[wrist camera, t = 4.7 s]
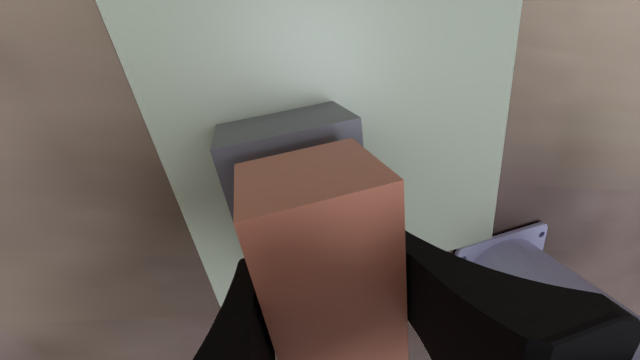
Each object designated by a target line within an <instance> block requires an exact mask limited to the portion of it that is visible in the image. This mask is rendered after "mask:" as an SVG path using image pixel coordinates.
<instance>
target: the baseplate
mask: <svg viewBox="0 0 640 360" xmlns="http://www.w3.org/2000/svg"><path fill="white" fill-rule="evenodd" d="M95 1H96V3H97V5H98V8H99V10H100V13H101V15H102V18H103V20H104V23H105V25H106V28H107V30H108V32H109V35H110V37H111V40H112V42H113V45H114V47H115V50H116V52H117V55H118V57H119V59H120V62H121V64H122V67H123V69H124V72H125V74H126V77H127V79H128V82H129V84H130V86H131V89H132V91H133V94H134V96H135V99H136V101H137V104H138V106H139V109H140V111H141V113H142V116H143V118H144V121H145V123H146V126H147V128H148V131H149V133H150V136H151V138H152V140H153V143H154V145H155V148H156V150H157V153H158V155H159V158H160V160H161V163H162V165H163V167H164V170H165V172H166V175H167V177H168V180H169V182H170V185H171V187H172V190H173V192H174V194H175V197H176V199H177V202H178V204H179V207H180V209H181V212H182V214H183V217H184V219H185V221H186V224H187V226H188V229H189V231H190V234H191V236H192V239H193V241H194V244H195V246H196V248H197V251H198V253H199V256H200V258H201V261H202V263H203V266H204V268H205V271H206V273H207V275H208V278H209V280H210V283H211V285H212V288H213V290H214V293H215V295H216V298H217V300H218V302H219V305H220V307H221V306H222V304H223V302H224V299H225V297H226V295H227V292H228V290H229V288H230V285H231V282H232V280H233V277H234V274H235V271H236V268H237V264H238V262H239V260H240V259H242V258H244V255H243V252H242V249H241V245H240V242H239V239H238V236H237V233H236V230H235V227H234V224H233V220H232V217H231V214H230V211H229V208H228V205H227V202H226V199H225V196H224V193H223V190H222V186H221V183H220V180H219V177H218V174H217V171H216V168H215V165H214V162H213V159H212V156H211V153H210V147H211V143H212V139H213V134H214V130H215V126H216V125H217V124H222V123H227V122H232V121H237V120H242V119H247V118H251V117H256V116H261V115H266V114H271V113H276V112H281V111H286V110H291V109H296V108H301V107H306V106H311V105H316V104H321V103H326V102H330V101H334V102H336V103H337V104H339V105H341V106H342V107H344V108H346V109H347V110H349V111H351V112H353V113H354V114H356V115H358V116H359V117H361V122H362V134H363V145H364V148H365V149H366V150H368V151H369V152H370V153H371V154H372V155H374V156H375V157H376V158H377V159H379V160H380V161H381V162H382V163H384V164H385V165H386V166H387V167H389V168H390V169H391V170H392V171H393V172H395V173H396V174H397V175H398V176H400V177H401V178H402V179H403V180H404V205H405V230H406V231H407V232H409V233H411V234H413V235H415V236H417V237H418V238H420V239H422V240H424V241H426V242H428V243H430V244H432V245H434V246H436V247H438V248H440V249H443V250H445V251H447V252H448V251H452V250H455V249H458V248H461V247H465V246H468V245H471V244H475V243H478V242H481V241H484V240H488V239H491V238H492V233H493V225H494V217H495V209H496V202H497V194H498V186H499V179H500V171H501V163H502V155H503V148H504V140H505V132H506V124H507V117H508V109H509V101H510V93H511V86H512V78H513V70H514V62H515V55H516V47H517V39H518V32H519V24H520V16H521V8H522V1H523V0H95Z"/></svg>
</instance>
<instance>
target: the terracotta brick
mask: <svg viewBox="0 0 640 360" xmlns="http://www.w3.org/2000/svg"><path fill="white" fill-rule="evenodd" d="M233 224H234V227H235V230H236V233H237V236H238V239H239V242H240V245H241V249H242V252H243V255H244V258H245V261H246V264H247V267H248V270H249V273H250V276H251V279H252V282H253V286H254V289H255V292H256V295H257V298H258V301H259V304H260V307H261V310H262V313H263V316H264V319H265V323H266V326H267V329H268V332H269V335H270V338H271V341H272V344H273V347H274V350H275V353H276V356H277V360H408V322H407V283H406V244H405V205H404V180H403V179H402V178H401V177H400V176H398V175H397V174H396V173H395V172H393V171H392V170H391V169H390V168H389V167H387V166H386V165H385V164H384V163H382V162H381V161H380V160H379V159H377V158H376V157H375V156H374V155H372V154H371V153H370V152H369V151H368V150H366V149H365V148H364V147H363V146H361V145H360V144H359V143H358V142H356V141H355V140H354V139H353V138H349V139H344V140H340V141H335V142H331V143H326V144H322V145H317V146H313V147H309V148H304V149H300V150H295V151H291V152H286V153H282V154H277V155H273V156H268V157H264V158H259V159H255V160H251V161H246V162H242V163H237V164H234V214H233Z"/></svg>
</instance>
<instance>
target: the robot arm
mask: <svg viewBox="0 0 640 360" xmlns="http://www.w3.org/2000/svg"><path fill="white" fill-rule="evenodd" d="M547 229H548V225H547V224H546V223H544V222H538V223H535V224H532V225H528V226H525V227H522V228H519V229H515V230H512V231H509V232H505V233H502V234H499V235H496V236H492V238H491V239H488V240H484V241H481V242H478V243H475V244H471V245H468V246H465V247H461V248H458V249H456V251H455V255H454V254H451V253H449V252H447V251H445V250H443V249H440V248H438V247H436V246H434V245H432V244H430V243H428V242H426V241H424V240H422V239H420V238H418V237H417V236H415V235H413V234H411V233H409V232H407V231H406V230H405V244H406V283H407V319H408V321H409V322H410V324H411V325H412V327H413V328H414V330H415V331H416V333H417V334H418V336H419V337H420V339H421V341H422V342H423V344H424V346H425V348H426V350H427V351H428V353H429V355H430V357H431V359H432V360H640V316H639V315H637V314H636V313H634V312H633V311H631V310H630V309H629V308H627V307H626V306H624V305H623V304H621V303H620V302H618V301H617V300H615V299H614V298H612V297H611V296H609V295H608V294H606V293H605V292H603V291H602V290H600V289H599V288H597V287H596V286H594V285H593V284H591V283H590V282H588V281H587V280H585V279H584V278H583V277H581V276H580V275H578V274H577V273H575V272H574V271H572V270H571V269H569V268H568V267H566V266H565V265H563V264H562V263H560V262H559V261H557V260H556V259H554V258H553V257H551V256H550V255H548V254H547V253H545V252H544V251H543V247H544V242H545V238H546V233H547ZM193 360H275V350H274V347H273V344H272V341H271V338H270V335H269V332H268V329H267V326H266V323H265V319H264V316H263V313H262V310H261V307H260V304H259V301H258V298H257V295H256V292H255V289H254V286H253V282H252V279H251V276H250V273H249V270H248V267H247V264H246V261H245V258H242V259H240V260H239V262H238V264H237V268H236V271H235V274H234V277H233V280H232V282H231V285H230V288H229V290H228V292H227V295H226V297H225V299H224V302H223V304H222V306H221V309H220V311H219V313H218V315H217V317H216V319H215V321H214V323H213V325H212V327H211V329H210V331H209V333H208V334H207V336H206V338H205V340H204V342H203V343H202V345H201V347H200V348H199V350H198V352H197V354H196V355H195V357H194V358H193Z"/></svg>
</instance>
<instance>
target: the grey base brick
mask: <svg viewBox="0 0 640 360" xmlns="http://www.w3.org/2000/svg"><path fill="white" fill-rule="evenodd" d="M349 138H353V139H354V140H355V141H356V142H358V143H359V144H360V145H361V146H363V147H364V145H363V134H362V122H361V117H359V116H358V115H356V114H354V113H353V112H351V111H349V110H347V109H346V108H344V107H342V106H341V105H339V104H337V103H336V102H334V101H330V102H326V103H321V104H316V105H311V106H306V107H301V108H296V109H291V110H286V111H281V112H276V113H271V114H266V115H261V116H256V117H251V118H247V119H242V120H237V121H232V122H227V123H222V124H217V125H216V126H215V130H214V134H213V139H212V143H211V147H210V153H211V156H212V159H213V162H214V165H215V168H216V171H217V174H218V177H219V180H220V183H221V186H222V190H223V193H224V196H225V199H226V202H227V205H228V208H229V211H230V214H231V217H232V220H233V214H234V164H237V163H242V162H246V161H251V160H255V159H259V158H264V157H268V156H273V155H277V154H282V153H286V152H291V151H295V150H300V149H304V148H309V147H313V146H317V145H322V144H326V143H331V142H335V141H340V140H344V139H349Z"/></svg>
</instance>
